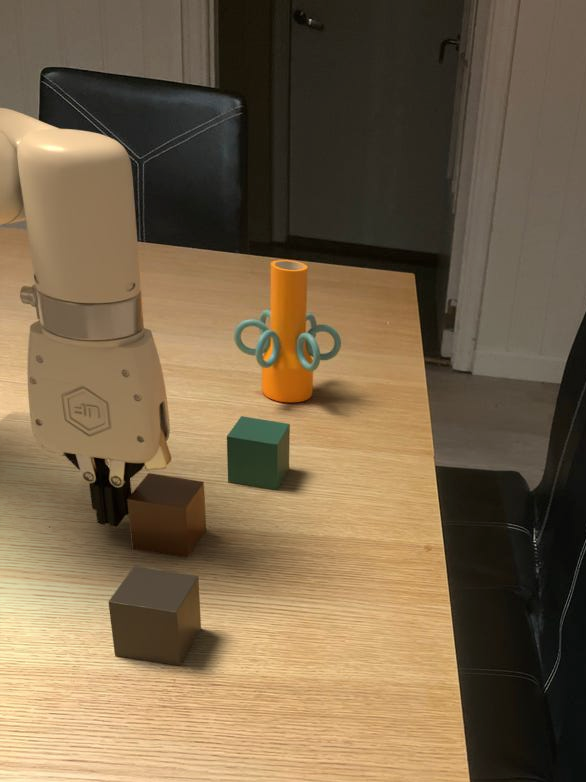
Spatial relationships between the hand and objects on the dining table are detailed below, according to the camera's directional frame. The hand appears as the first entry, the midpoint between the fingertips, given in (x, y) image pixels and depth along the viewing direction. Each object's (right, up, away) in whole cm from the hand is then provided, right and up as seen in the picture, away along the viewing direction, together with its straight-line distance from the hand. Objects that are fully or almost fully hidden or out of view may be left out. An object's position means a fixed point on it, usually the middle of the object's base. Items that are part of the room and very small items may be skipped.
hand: (113, 517), depth 84 cm
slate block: (+8, -11, -11) cm, 17 cm away
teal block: (+10, +6, +13) cm, 17 cm away
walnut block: (+5, -2, +1) cm, 5 cm away
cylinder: (+9, +19, +30) cm, 37 cm away
